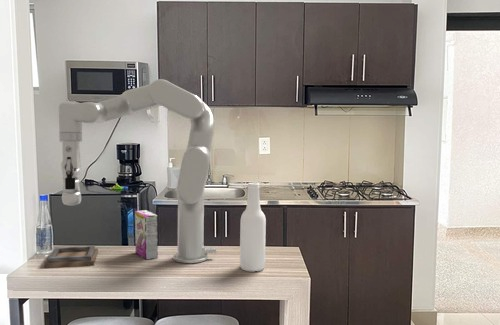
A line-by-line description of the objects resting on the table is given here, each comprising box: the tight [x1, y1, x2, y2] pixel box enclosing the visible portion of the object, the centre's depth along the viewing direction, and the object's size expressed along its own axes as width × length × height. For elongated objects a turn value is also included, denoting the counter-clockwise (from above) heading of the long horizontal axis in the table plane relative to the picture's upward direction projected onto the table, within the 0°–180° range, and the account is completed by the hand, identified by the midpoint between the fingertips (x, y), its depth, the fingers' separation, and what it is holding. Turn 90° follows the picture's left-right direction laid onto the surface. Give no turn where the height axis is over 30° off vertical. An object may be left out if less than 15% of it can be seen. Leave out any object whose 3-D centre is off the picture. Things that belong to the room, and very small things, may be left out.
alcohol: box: [239, 182, 267, 273], centre depth 159 cm, size 9×9×30 cm
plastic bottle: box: [60, 160, 82, 207], centre depth 164 cm, size 6×7×20 cm
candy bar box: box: [134, 209, 159, 261], centre depth 173 cm, size 11×5×16 cm, turn 34°
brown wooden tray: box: [44, 245, 99, 269], centre depth 167 cm, size 16×16×3 cm
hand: (71, 187), depth 164 cm, fingers closed on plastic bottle, 5 cm apart
